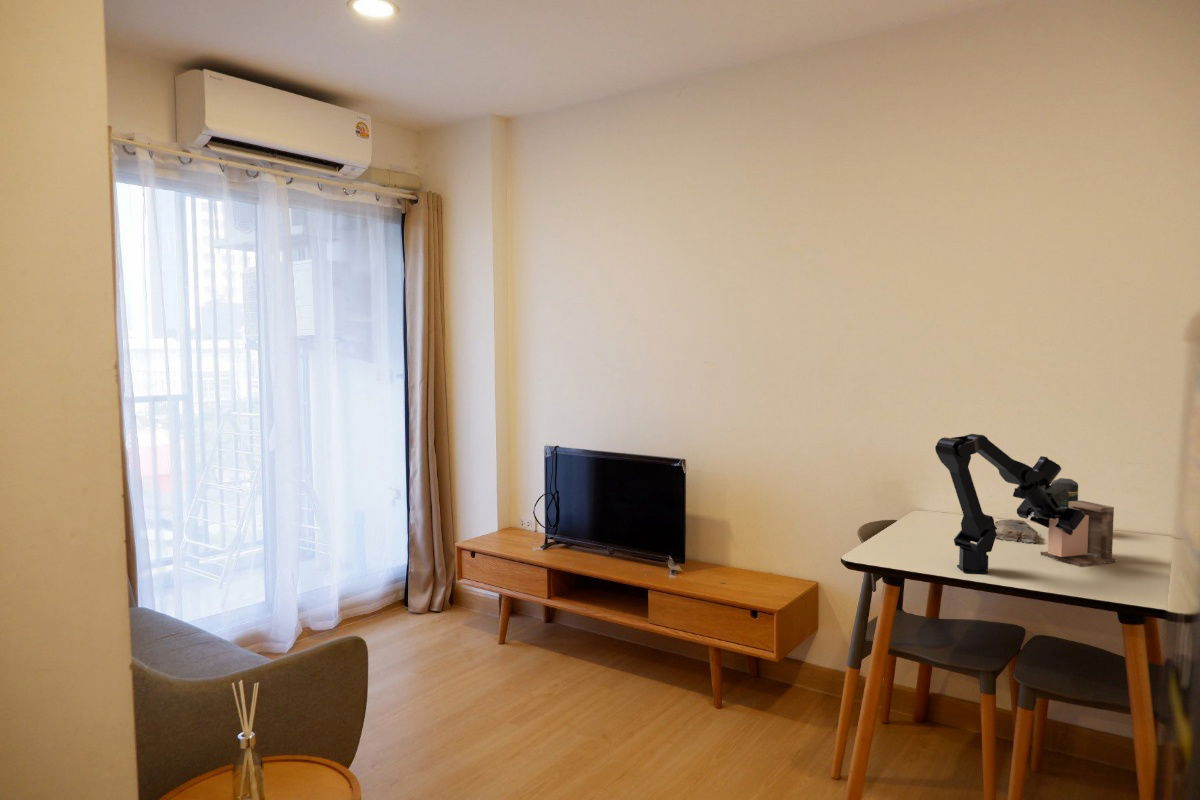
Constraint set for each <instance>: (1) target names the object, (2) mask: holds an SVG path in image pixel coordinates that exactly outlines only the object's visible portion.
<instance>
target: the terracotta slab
mask: <svg viewBox="0 0 1200 800" xmlns="http://www.w3.org/2000/svg"><path fill="white" fill-rule="evenodd" d="M1057 523H1058V519H1057V518H1056V520H1054V519H1049V528H1048V538H1047V539H1048V541H1047V551H1048V553H1049V554H1053V555H1056V556H1060V557H1066V556H1076V555H1085V554H1087V547H1088V524H1089V516H1087V515H1085V517H1084V518H1083V520H1082V521H1081V522H1080V524H1079V525H1078V526H1077V528H1076V529H1075V530H1073V533H1072V535H1069V534H1067V533H1065V532H1064V531H1062V530H1060V529H1058V528H1057V527H1055V526H1056V525H1057Z"/></svg>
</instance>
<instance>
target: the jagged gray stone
mask: <svg viewBox="0 0 1200 800" xmlns="http://www.w3.org/2000/svg"><path fill="white" fill-rule="evenodd" d="M994 524H995V526H996V528H997V530H996V538H995V539H998V538H999V540H1002V541H1004V540H1005V541H1006V542H1011V541H1015V542H1014V543H1017V542H1018V541H1019V543H1024V542H1025V544H1026V543H1027V544H1031V543H1035V544H1036V543H1038V542H1039V539H1040V538H1039V537H1040V536H1039V533H1038V531H1037V530H1035V529H1034V528H1033V527H1032V526H1031V525H1029V524H1028V523H1027V522H1025V520H1020V519H1001V520H996V521H994ZM1005 541H1004V542H1005Z"/></svg>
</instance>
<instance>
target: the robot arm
mask: <svg viewBox="0 0 1200 800" xmlns="http://www.w3.org/2000/svg"><path fill="white" fill-rule="evenodd" d="M934 448H935V449H934V450H935V453H936V454H937V457H938V459H939V461H940V462H941V463H942V464H943V466H944V467H946V468H947V469H948V471H949V474H950V477H951V481H952V484H953V486H954V490H955V493H956V496H957V499H958V502H959V506H960V509H961V512H962V515H963V516H962V519H961V521H960V527H961V530H960V531H959V532H958V533H957V535H956V536H954V538H953V543H954V546H955V547H959V551H958V552H959V555H958V556H959V559H958V564H957V565H956V567H957V569H959V570H961V571H962V572H963V573H965V574H989V572H990V571H988V570H989V555H988V553H991V552H992V551H993V546H994V543H995V541H996V539H997V538H996V530H997V528H996V526H995V525H996V524H995V520H994V517H993V515H992V516H991V515H989V514H988V515H987V514H985V513H984V512H983V510H982V507H981V503H980V500H979V496H978V493H977V491H976V488H975V487H976V486H975V483H974V480H973V478H972V477H973V476H972V475H971V472H970V469H969V465H970V462H971V459H972V456H973V455H975V454H978V455H979V456H981V457H982V458H983V459H985V460H986V461H987V462H989V463H990V464H991V465H992V466H993V467H995V468H996V469H997V470H998V473H999V475H1000V477H1001V478H1002V479H1003V480H1004V481H1005V482H1006V483H1008V484H1012V485H1018V486H1017V487H1015V488H1014V491H1013V494H1012V496H1013V498H1016V499H1017V498H1018V499H1021V500H1023V501H1022V502H1021V503H1020V505H1019V506H1018V507H1017V509H1016V514H1017V516H1018V517H1019V518H1022V519H1025V520H1028V518H1029V517H1030V518H1029V521H1031V522H1033V523H1036V524H1038V525H1040V526H1043V527H1046V528H1047V529H1049V519H1054V520H1056V518H1057V519H1058V523H1057V525H1056V526H1055V527H1057V528H1058V529H1060V530H1062V531H1064V532H1065V533H1067V534H1069V535H1072V533H1073V530H1075V529H1076V528H1077V526H1078V525H1079V524H1080V522H1081V521H1082V520H1083V518H1084V517H1085V514H1084V512H1083V511H1082V510H1080V509H1076V508H1071V507H1070V508H1067V509H1063V510H1059V509H1058V508H1060V507H1061V506H1062V504H1061V502H1062V501H1064V500H1065V499H1067V498H1069V497H1070V495H1069V492H1068V489H1067V487H1066V486H1061V485H1051V483H1052V482H1053V481H1054V480H1056V477H1057V476H1058V475H1059V474H1060V473H1061V471H1062V466H1061V465H1060V464H1058V463H1056V462H1055V461H1053V460H1051V459H1049V457H1047V456H1040V457H1039V458H1038V460H1037V461H1036V463H1035V464H1034V466H1029V465H1027V464H1026V463H1023V462H1022V461H1018V460H1015V459H1013V458H1012V457H1010V455H1008V454H1006V452H1004V451H1003V450H1002V449H1000V448H999V447H998V446H997V445H996V444H994V443H993V442H991V441H990V439H989V438H988V437H987V436H986V435H984V434H977V433H970V434H969V433H968V434H965V435H960V436H955V437H954V436H953V437H945V436H944V437H941V438H940V439H939V440H938V441H937V442H936V445H935V447H934Z"/></svg>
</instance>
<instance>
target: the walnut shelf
mask: <svg viewBox="0 0 1200 800" xmlns="http://www.w3.org/2000/svg"><path fill="white" fill-rule="evenodd" d="M1070 507H1071V508H1076V509H1080V510H1082V511H1083V512H1084V514H1085V515H1087V516H1089V524H1088V547H1087V554H1085V555H1076V556H1066V557H1060V556H1056V555H1053V554H1049V553H1048V550H1047V551H1040V554H1041V555H1040V556H1043V555H1044V556H1043V557H1046V556H1048V557H1047V558H1049V557H1050V559H1053V558H1054V559H1053V560H1056V559H1057V560H1056V561H1060V562H1063V563H1067V564H1071V565H1074V566H1076V567H1086V566H1096V565H1103V564H1102V563H1104V564H1110V563H1109V562H1112V563H1116V562H1117V559H1115V558H1113V542H1114V541H1113V539H1114V518H1115V517H1114V515H1115V511H1114V510H1115V508H1114V506H1112V505H1111V506H1110V505H1105V504H1100V503H1096V502H1091V501H1085V500H1078V501H1069V506H1068V508H1070ZM1095 564H1096V565H1095Z"/></svg>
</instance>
